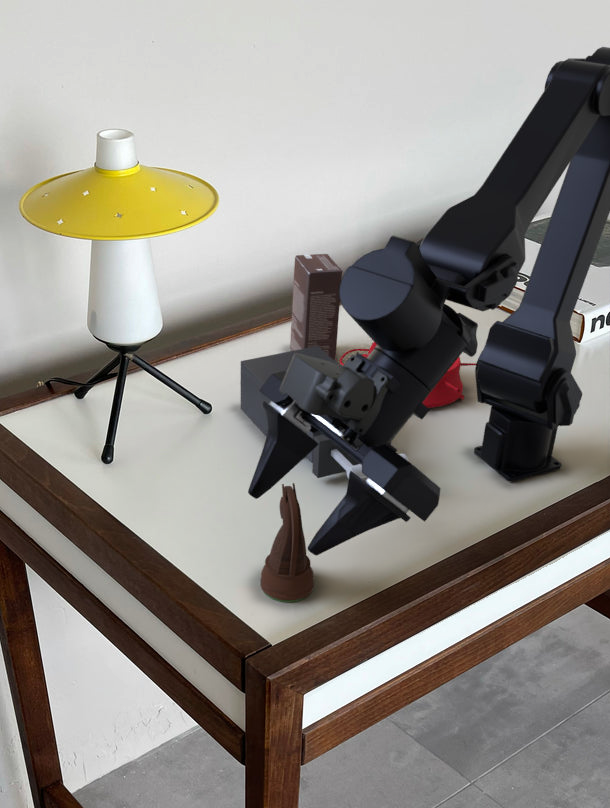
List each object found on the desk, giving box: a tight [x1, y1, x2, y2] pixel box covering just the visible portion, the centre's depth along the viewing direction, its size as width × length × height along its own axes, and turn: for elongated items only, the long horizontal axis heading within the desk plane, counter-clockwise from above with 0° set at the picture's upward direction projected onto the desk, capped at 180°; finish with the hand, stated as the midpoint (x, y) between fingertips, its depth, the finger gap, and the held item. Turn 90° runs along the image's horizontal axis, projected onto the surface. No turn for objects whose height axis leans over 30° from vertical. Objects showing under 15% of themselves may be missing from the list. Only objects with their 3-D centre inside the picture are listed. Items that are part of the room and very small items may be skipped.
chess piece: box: [259, 482, 315, 603], centre depth 84 cm, size 5×5×10 cm
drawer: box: [305, 426, 409, 480], centre depth 102 cm, size 15×8×4 cm, turn 23°
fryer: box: [240, 346, 340, 438], centre depth 109 cm, size 11×9×6 cm
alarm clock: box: [339, 341, 476, 409], centre depth 116 cm, size 10×6×15 cm
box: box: [289, 253, 343, 362], centre depth 120 cm, size 6×4×12 cm
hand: (280, 523), depth 83 cm, fingers open, 9 cm apart
